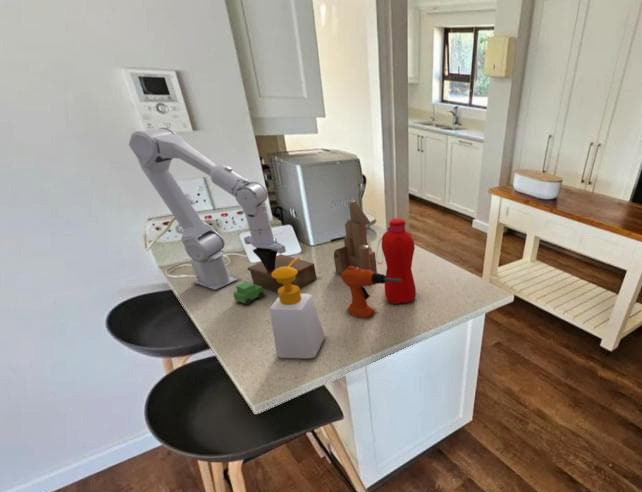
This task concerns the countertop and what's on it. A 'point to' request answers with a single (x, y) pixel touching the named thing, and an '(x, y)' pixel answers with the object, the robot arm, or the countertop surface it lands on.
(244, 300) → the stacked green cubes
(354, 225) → the wooden toy
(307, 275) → the wooden box
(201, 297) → the countertop surface
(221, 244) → the robot arm
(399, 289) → the water bottle
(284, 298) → the soap bottle
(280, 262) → the lid
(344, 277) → the toy drill
